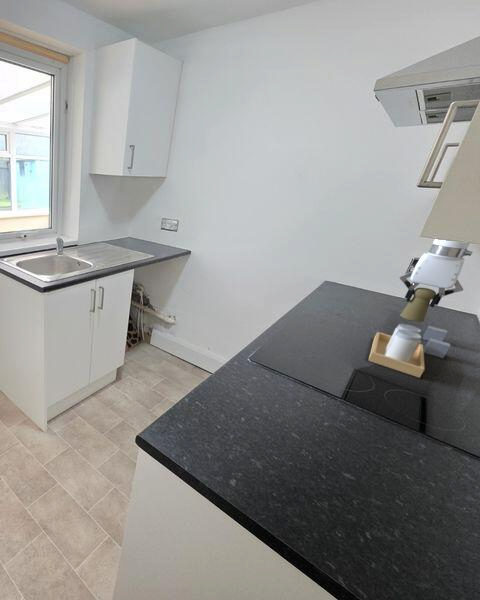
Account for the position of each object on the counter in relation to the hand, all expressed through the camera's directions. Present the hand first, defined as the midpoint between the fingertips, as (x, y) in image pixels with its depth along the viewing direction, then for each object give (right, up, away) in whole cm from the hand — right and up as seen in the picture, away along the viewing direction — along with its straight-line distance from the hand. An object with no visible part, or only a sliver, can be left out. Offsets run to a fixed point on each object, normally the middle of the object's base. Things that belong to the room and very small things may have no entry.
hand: (419, 302), depth 107 cm
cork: (0, -6, +2) cm, 6 cm away
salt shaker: (-10, -20, -2) cm, 23 cm away
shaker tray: (-5, -19, +3) cm, 20 cm away
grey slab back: (+22, -15, +16) cm, 31 cm away
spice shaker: (-6, -18, +2) cm, 19 cm away
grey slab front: (+11, -19, +6) cm, 23 cm away
